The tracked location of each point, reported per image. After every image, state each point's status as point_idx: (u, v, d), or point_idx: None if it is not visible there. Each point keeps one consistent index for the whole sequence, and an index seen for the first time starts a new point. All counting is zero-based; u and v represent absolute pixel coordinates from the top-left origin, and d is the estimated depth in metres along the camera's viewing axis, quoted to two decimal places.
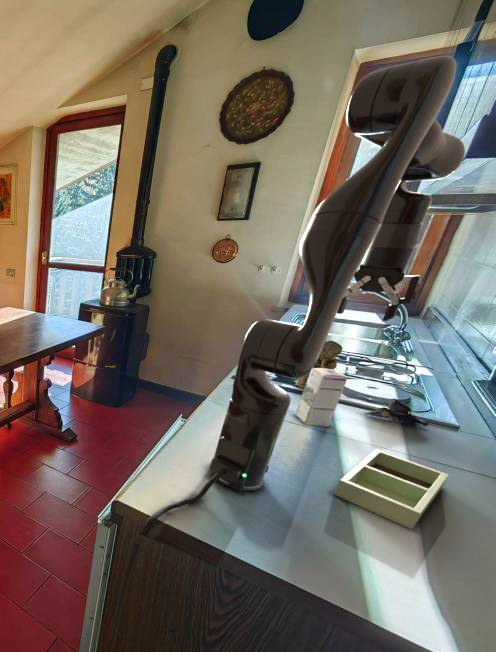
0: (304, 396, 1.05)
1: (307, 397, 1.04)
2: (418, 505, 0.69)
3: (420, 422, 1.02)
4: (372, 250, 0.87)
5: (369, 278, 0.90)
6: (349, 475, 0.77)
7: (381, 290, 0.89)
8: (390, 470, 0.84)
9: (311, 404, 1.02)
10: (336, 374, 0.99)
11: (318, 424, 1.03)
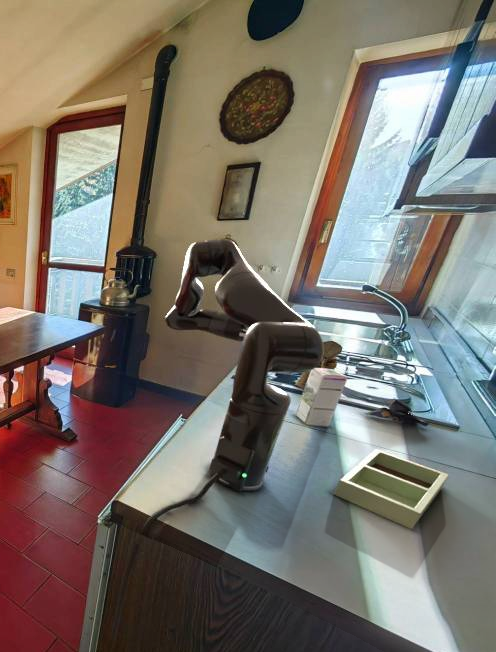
0: (304, 396, 1.05)
1: (307, 397, 1.04)
2: (418, 505, 0.69)
3: (420, 422, 1.02)
4: None
5: None
6: (349, 475, 0.77)
7: None
8: (390, 470, 0.84)
9: (311, 404, 1.02)
10: (336, 374, 0.99)
11: (318, 424, 1.03)
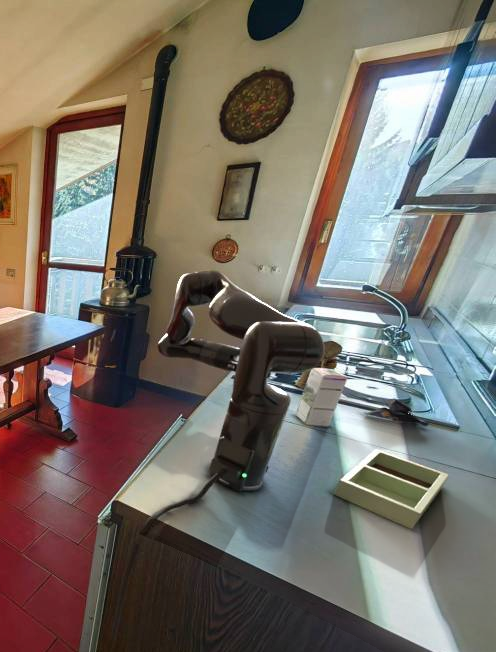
0: (304, 396, 1.05)
1: (307, 397, 1.04)
2: (418, 505, 0.69)
3: (420, 422, 1.02)
4: (222, 348, 1.20)
5: None
6: (349, 475, 0.77)
7: None
8: (390, 470, 0.84)
9: (311, 404, 1.02)
10: (336, 374, 0.99)
11: (318, 424, 1.03)
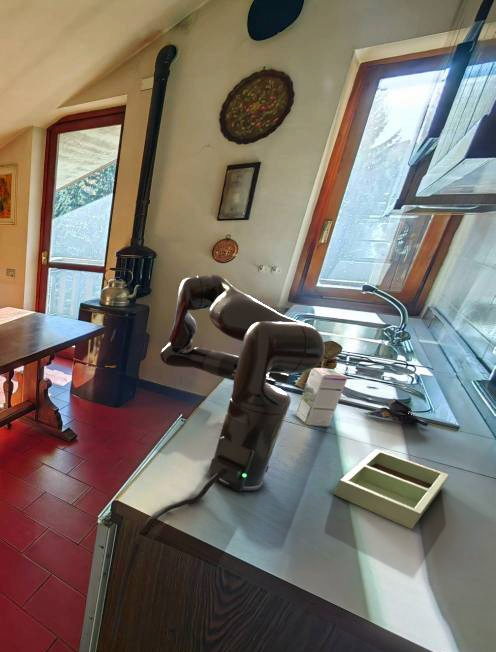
0: (304, 396, 1.05)
1: (307, 397, 1.04)
2: (418, 505, 0.69)
3: (420, 422, 1.02)
4: (226, 357, 1.20)
5: None
6: (349, 475, 0.77)
7: None
8: (390, 470, 0.84)
9: (311, 404, 1.02)
10: (336, 374, 0.99)
11: (318, 424, 1.03)
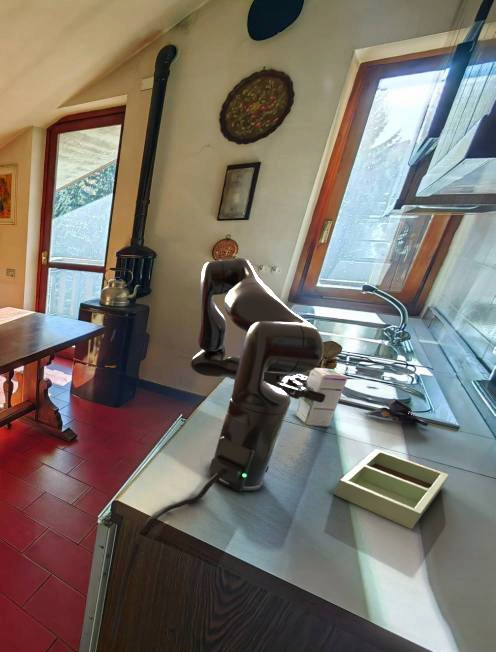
0: None
1: None
2: (418, 505, 0.69)
3: (420, 422, 1.02)
4: None
5: (291, 378, 1.07)
6: (349, 475, 0.77)
7: (304, 382, 1.07)
8: (390, 470, 0.84)
9: (311, 404, 1.02)
10: (336, 374, 0.99)
11: (318, 424, 1.03)
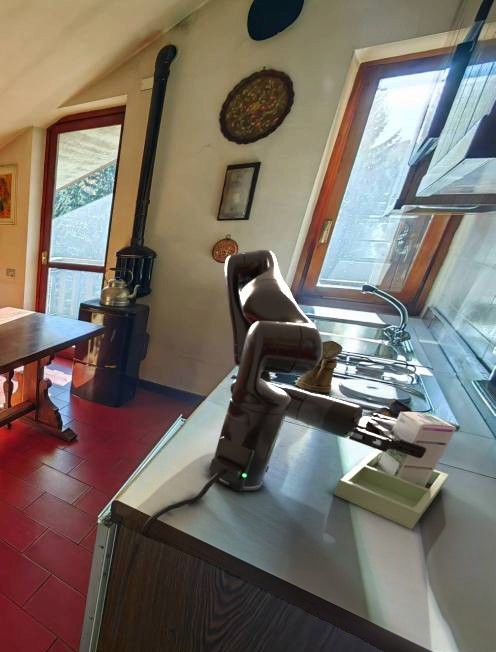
0: None
1: None
2: (418, 505, 0.69)
3: None
4: (336, 405, 0.85)
5: (372, 420, 0.81)
6: (349, 475, 0.77)
7: (389, 426, 0.81)
8: None
9: (402, 460, 0.77)
10: (439, 423, 0.73)
11: None
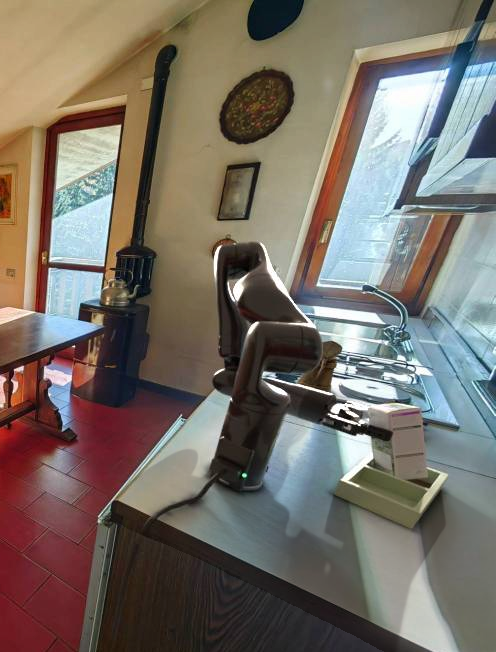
0: (375, 444, 0.82)
1: (380, 444, 0.80)
2: (418, 505, 0.69)
3: None
4: (310, 393, 0.89)
5: (344, 407, 0.85)
6: (349, 475, 0.77)
7: (361, 413, 0.85)
8: None
9: (391, 452, 0.78)
10: (404, 407, 0.77)
11: (413, 477, 0.77)
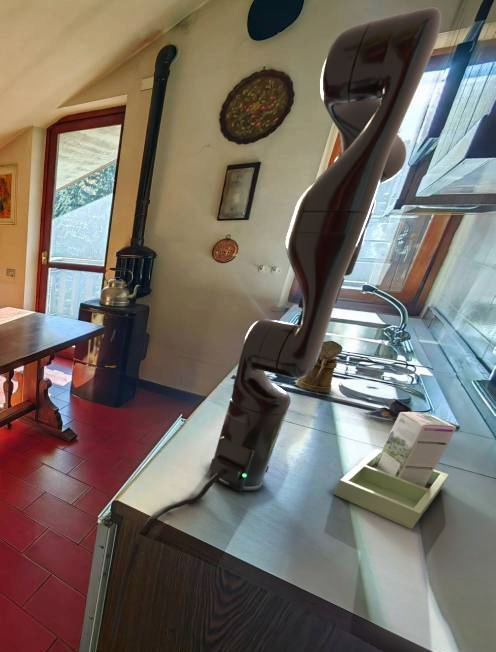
0: (388, 448, 0.80)
1: (394, 451, 0.79)
2: (418, 505, 0.69)
3: None
4: None
5: None
6: (349, 475, 0.77)
7: None
8: None
9: (403, 461, 0.77)
10: (439, 423, 0.73)
11: None
